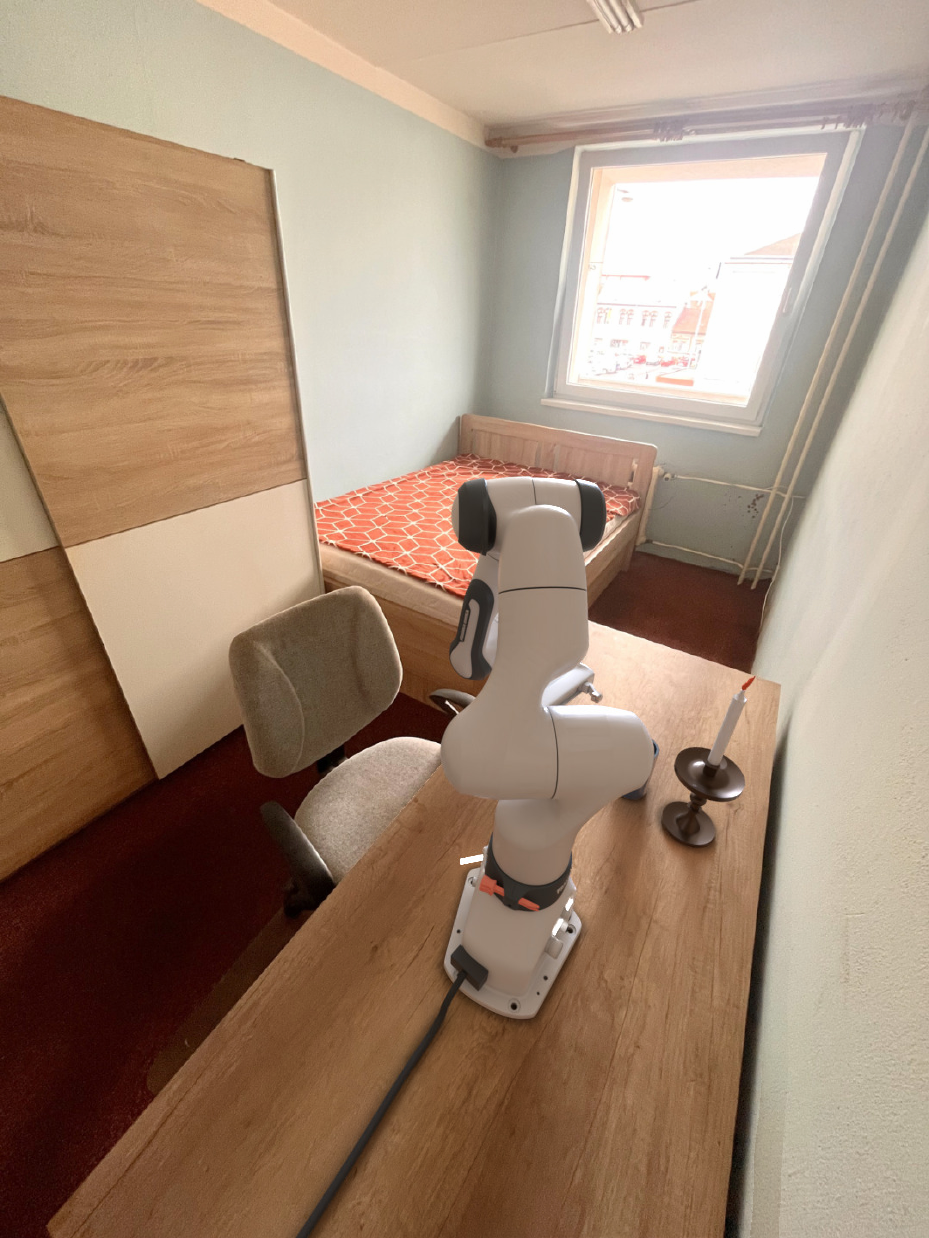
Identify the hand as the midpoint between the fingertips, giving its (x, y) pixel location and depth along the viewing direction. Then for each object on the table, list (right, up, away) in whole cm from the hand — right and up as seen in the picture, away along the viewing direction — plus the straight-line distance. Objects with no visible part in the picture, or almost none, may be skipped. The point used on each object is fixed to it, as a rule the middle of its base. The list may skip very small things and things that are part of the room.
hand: (587, 709), depth 100 cm
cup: (+8, -15, -1) cm, 17 cm away
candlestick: (+16, -20, -8) cm, 27 cm away
